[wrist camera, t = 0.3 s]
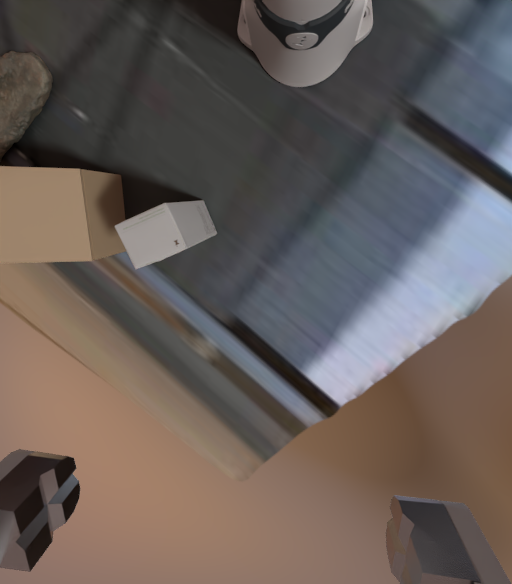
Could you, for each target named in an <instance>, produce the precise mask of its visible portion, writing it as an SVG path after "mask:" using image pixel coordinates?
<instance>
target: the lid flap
mask: <svg viewBox="0 0 512 584" xmlns="http://www.w3.org/2000/svg"><path fill="white" fill-rule="evenodd" d="M73 261H93V255H92V248H91V240H90V233H89V226H88V218H87V211H86V203H85V196H84V189H83V181H82V174H81V169H72V168H41V167H10V166H0V263H33V262H73Z"/></svg>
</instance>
